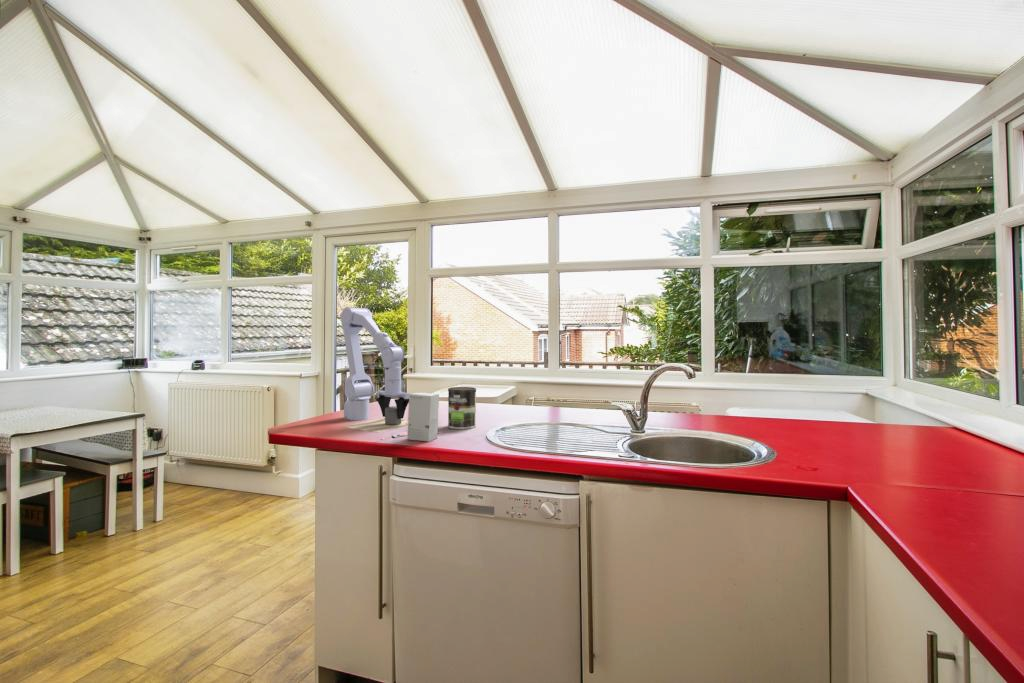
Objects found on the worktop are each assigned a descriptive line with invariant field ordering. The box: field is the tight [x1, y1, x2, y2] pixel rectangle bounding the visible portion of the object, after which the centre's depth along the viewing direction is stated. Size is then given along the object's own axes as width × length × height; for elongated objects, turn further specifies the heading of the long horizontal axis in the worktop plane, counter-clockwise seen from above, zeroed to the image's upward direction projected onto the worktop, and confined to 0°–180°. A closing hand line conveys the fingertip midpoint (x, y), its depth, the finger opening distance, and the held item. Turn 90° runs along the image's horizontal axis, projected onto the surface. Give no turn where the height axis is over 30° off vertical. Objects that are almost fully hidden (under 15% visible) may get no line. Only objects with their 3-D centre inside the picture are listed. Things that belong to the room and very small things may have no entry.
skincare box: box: [407, 392, 440, 442], centre depth 154 cm, size 8×6×15 cm
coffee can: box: [447, 386, 477, 430], centre depth 174 cm, size 10×10×14 cm
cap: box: [384, 405, 402, 424], centre depth 171 cm, size 6×6×6 cm
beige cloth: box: [341, 417, 408, 433], centre depth 170 cm, size 18×21×2 cm
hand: (393, 417), depth 171 cm, fingers open, 7 cm apart
